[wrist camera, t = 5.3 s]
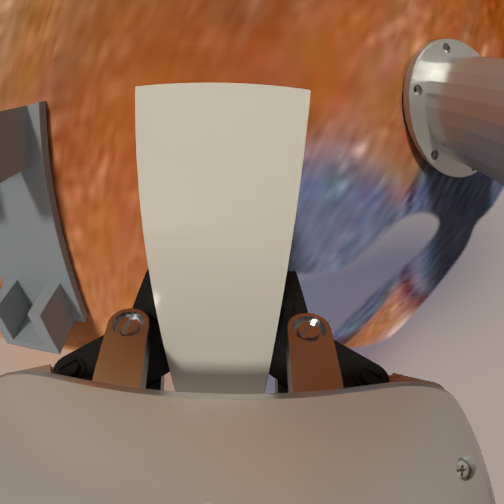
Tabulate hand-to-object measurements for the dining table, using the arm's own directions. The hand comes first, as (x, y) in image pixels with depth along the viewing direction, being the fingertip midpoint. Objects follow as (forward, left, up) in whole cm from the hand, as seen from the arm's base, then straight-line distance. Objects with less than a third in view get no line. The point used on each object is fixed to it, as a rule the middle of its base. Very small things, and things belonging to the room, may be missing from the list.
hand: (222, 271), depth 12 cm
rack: (+19, +2, -10) cm, 21 cm away
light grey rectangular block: (0, 0, -2) cm, 2 cm away
